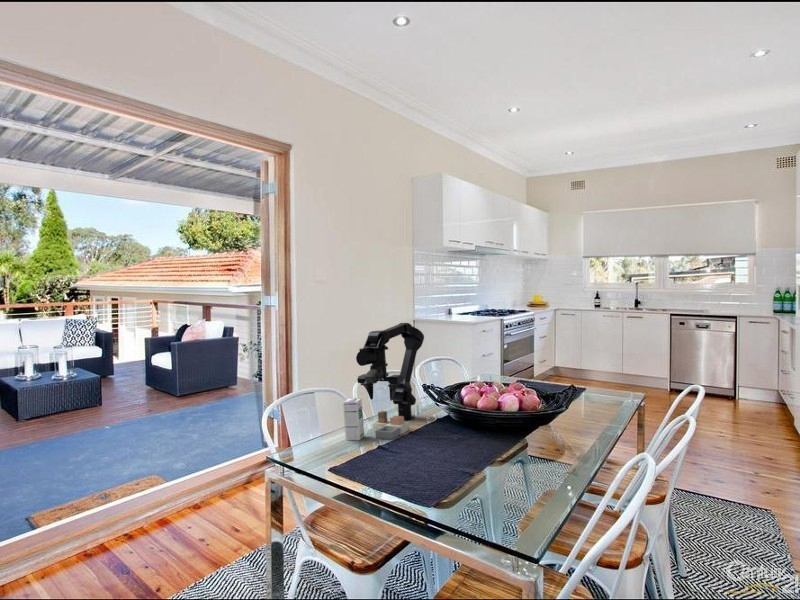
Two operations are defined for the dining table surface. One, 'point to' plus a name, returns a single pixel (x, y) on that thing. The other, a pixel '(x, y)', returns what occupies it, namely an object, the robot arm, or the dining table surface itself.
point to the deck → (402, 427)
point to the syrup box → (353, 419)
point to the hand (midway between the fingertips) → (381, 399)
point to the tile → (396, 420)
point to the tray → (387, 433)
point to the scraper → (381, 420)
